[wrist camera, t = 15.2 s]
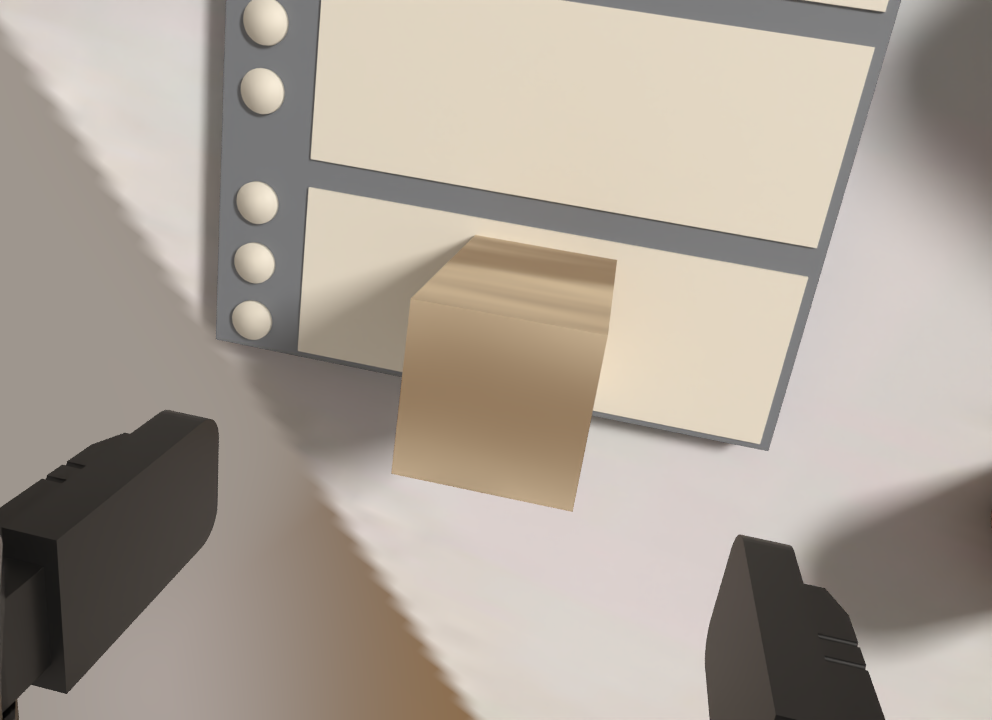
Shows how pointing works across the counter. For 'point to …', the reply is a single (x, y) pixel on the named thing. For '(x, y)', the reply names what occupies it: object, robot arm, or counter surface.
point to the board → (548, 176)
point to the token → (504, 370)
